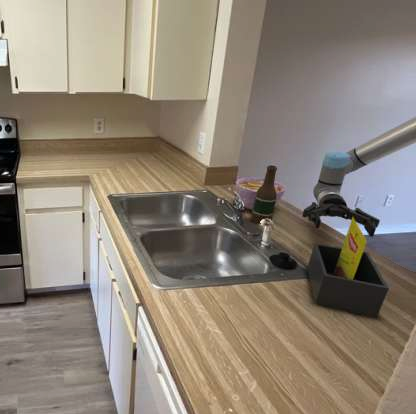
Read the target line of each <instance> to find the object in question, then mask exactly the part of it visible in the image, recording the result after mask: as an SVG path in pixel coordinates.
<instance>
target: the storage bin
mask: <svg viewBox="0 0 416 414" xmlns="http://www.w3.org/2000/svg"><path fill="white" fill-rule="evenodd" d="M341 250H342V247H340V246H333V245H327V244H322V243H316V242H315V243H313V247H312V249H311V253H310V257H309V260H308V264H307V267H306V271H307V275H308V278H309V284H310V288H311V291H312V296H313V300H314V304H315V305H318V306H324V307H327V308H332V309H336V310H340V311H346V312H349V313H353V314H354V313H355V314H358V315H363V316H365V317H366V316H367V317H371V318H374V319H375V318H376V319H377V318H378V316H379V313H380V311H381V309H382V306H383V304H384V302H385V299H386V296H387V294H388V292H389V289H390V287H389V286H388V284H387V281H386V280H385V279H384V277H383V276H382V273H381V272H380V270H379V269H378V267H377V265H376V264H375V262H374V260H373V258H372V256H371V255H370V253H369V252H367V251H363V254H362V256H361V259H360V262H359V264H358V267H357V270H356V273H355V275H354V278H353V280H352V279H347V278H342V277H337V276H333V274H334V271H335V268H336V265H337V262H338V259H339V256H340V253H341Z"/></svg>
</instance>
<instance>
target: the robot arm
mask: <svg viewBox="0 0 416 414" xmlns="http://www.w3.org/2000/svg"><path fill="white" fill-rule="evenodd" d="M414 144H416V116H414V117H412V118H411V119H409V120H407V121H405V122H402V123H401V124H399V125H397V126H395V127H393V128H391V129H389V130H387V131H385V132H383V133H381V134H380V135H378V136H376V137H374V138H372V139H369V140H367V141H366V142H364V143H361V144H360V145H358V146H356V147H354V148H352V149H350V150H348V151H347V152H341V151H328V152H327V153H325V155H324V157H323V160H322V165H321V168H320V173H319V176H318V179H317V183H316V184H315V185H314V187H313V189H312V190H313V194H312V195H313V197H314V198H315V201H312V202H311V204H310V205H308V206H307V207H305V208H304V209H303V212H302V215H301V217H302V218H307V220H308V221H309V222H313V224H314V226H315V228H316V229H320V226H321V222H322V219H321V217H330V218H335V217H338V218H342V219H344V220H345V221H347V220H350V221H351V220H352V217H353V218H354V220H355V221H356V223H357V224H358V225H362V226H363V229H364V230H365V231H366V233H367V235H368V236H369V237H374V236H375V234H376V233H375V232H376V230H377V228H378V227H379V225H380V222H381V219H379V218H377V217H376V216H373V215H371V214H370V213H367V212H365V211H364V210H362V209H361V208H359V207H354V208H355V209H352V208H350V207H348V205H347V202H346V200H345V199H344V196H342V194H341V189H342V187H343V183H344V180H345V177H346V175H349V174H350V173H353V172H356V171H358V170H359V169H361V168H363V167H366V166H367V165H370V164H372V163H374V162H376V161H379V160H381V159H383V158H385V157H387V156H390V155H392V154H394V153H396V152H398V151H400V150H402V149H404V148H406V147H409V146H411V145H414ZM316 202H317V203H316Z"/></svg>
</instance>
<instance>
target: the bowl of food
mask: <svg viewBox="0 0 416 414" xmlns="http://www.w3.org/2000/svg"><path fill="white" fill-rule="evenodd" d="M264 179H265V178H261V177H244V178H239V179H237V180H236V182H235V188H236V194H237V193H238V194H239V196H240V197H241V199H242V201H243V203H244V205H245V207H244V209H247V210H250V211H253V206H254V201H255V196H256V193H257V190H258V189H259V187H261V186H262V185H263V182H264ZM274 188H275V190H276V194H277V197H276V203H275V207H274V209H275V208H276V207H277V206H278V204H279V203H280V201H281V200H282V197H283V196H284V193H285V192H286V190H287V189H286V186H285V185H284V184H282V183H280V182H279V181H276V180H275V181H274Z"/></svg>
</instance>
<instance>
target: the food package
mask: <svg viewBox="0 0 416 414" xmlns="http://www.w3.org/2000/svg"><path fill="white" fill-rule="evenodd" d="M367 243H368V241H367V238H366V236H365V235H364V234H363V231H362V230H361V228H360V226H359V224H358V223H357V222H356V221H355V220H354V218H353V217H352V220H350V224H349V226H348V230H347V232H346V236H345V239H344V241H343V245H342V247H341V248H342V250H341V253H340V256H339V259H338V262H337V265H336V268H335V271H334V274H333V276H337V277H342V278H347V279H352V280H353V278H354V275H355V273H356V270H357V267H358V264H359V262H360V259H361V256H362V254H363V252H365V248H366V245H367Z"/></svg>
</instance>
